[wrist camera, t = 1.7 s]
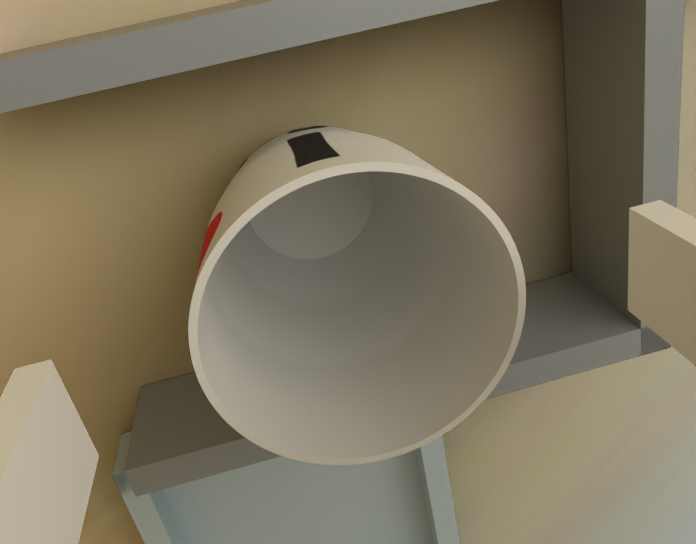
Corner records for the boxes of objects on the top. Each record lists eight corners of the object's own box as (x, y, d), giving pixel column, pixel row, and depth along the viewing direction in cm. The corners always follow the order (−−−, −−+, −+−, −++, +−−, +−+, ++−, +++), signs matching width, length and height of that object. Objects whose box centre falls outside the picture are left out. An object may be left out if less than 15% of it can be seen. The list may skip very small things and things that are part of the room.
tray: (452, 556, 33) (468, 597, 31) (209, 628, 32) (208, 677, 30) (417, 353, 28) (434, 386, 25) (121, 434, 27) (112, 475, 24)
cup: (304, 38, 22) (364, 79, 13) (456, 189, 25) (588, 307, 16) (154, 210, 23) (112, 356, 14) (315, 332, 26) (365, 512, 17)
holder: (598, 288, 28) (670, 347, 24) (150, 409, 26) (135, 496, 22) (591, -77, 22) (688, -91, 17) (1, 53, 20) (-62, 74, 16)
